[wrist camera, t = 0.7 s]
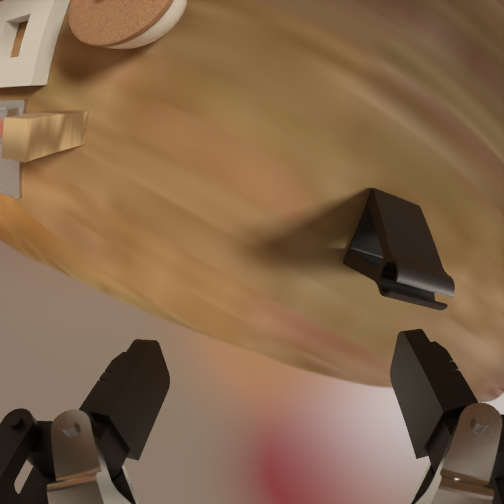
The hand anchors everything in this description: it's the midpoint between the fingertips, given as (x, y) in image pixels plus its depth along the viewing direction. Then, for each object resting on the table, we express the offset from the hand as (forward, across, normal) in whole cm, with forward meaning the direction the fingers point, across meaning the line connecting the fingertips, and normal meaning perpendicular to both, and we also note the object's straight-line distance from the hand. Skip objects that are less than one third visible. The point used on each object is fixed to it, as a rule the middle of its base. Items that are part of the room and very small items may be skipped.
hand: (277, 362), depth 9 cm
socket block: (+20, +30, -29) cm, 46 cm away
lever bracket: (+21, +36, -14) cm, 44 cm away
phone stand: (+23, -11, +3) cm, 26 cm away
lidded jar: (+20, +11, -23) cm, 33 cm away
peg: (+22, +22, -13) cm, 34 cm away
